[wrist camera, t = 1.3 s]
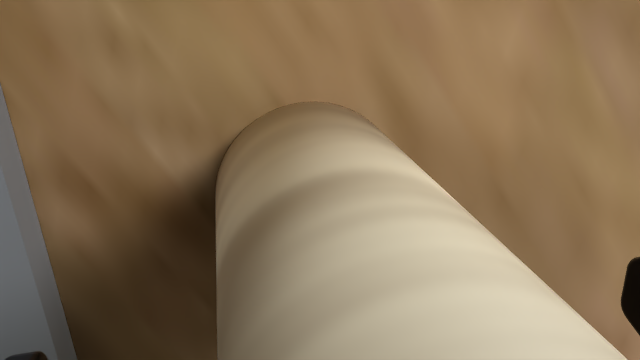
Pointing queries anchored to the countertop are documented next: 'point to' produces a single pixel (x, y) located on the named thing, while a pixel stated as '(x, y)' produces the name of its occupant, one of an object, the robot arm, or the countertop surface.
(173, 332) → the countertop surface
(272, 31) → the countertop surface
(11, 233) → the socket plate
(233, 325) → the beech peg
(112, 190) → the countertop surface
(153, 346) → the countertop surface
